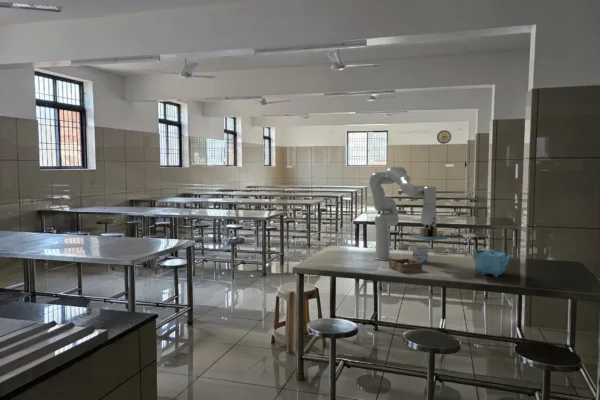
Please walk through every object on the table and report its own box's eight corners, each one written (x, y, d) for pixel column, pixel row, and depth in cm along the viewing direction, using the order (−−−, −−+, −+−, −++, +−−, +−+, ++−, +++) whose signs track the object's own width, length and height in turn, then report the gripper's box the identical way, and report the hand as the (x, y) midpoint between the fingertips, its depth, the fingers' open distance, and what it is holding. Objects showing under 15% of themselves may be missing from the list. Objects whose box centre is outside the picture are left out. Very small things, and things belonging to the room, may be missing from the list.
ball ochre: (402, 268, 285) (402, 262, 285) (406, 267, 287) (407, 262, 286) (405, 269, 282) (405, 263, 282) (410, 268, 283) (410, 263, 283)
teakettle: (497, 270, 285) (498, 247, 284) (514, 278, 266) (515, 252, 265) (468, 271, 283) (469, 247, 282) (483, 278, 264) (484, 253, 263)
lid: (410, 236, 290) (410, 227, 290) (431, 235, 296) (431, 226, 296) (425, 240, 276) (425, 230, 275) (447, 239, 281) (447, 229, 281)
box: (389, 269, 285) (389, 260, 284) (407, 268, 290) (408, 258, 290) (402, 274, 272) (402, 264, 271) (421, 272, 277) (422, 263, 277)
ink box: (423, 262, 308) (424, 245, 307) (427, 264, 303) (428, 246, 302) (412, 263, 306) (412, 245, 305) (416, 264, 301) (416, 246, 300)
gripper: (416, 205, 291) (415, 234, 292) (432, 207, 276) (431, 237, 277) (426, 205, 293) (425, 233, 295) (443, 207, 278) (442, 237, 279)
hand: (428, 235), depth 286 cm, fingers closed on lid, 3 cm apart
